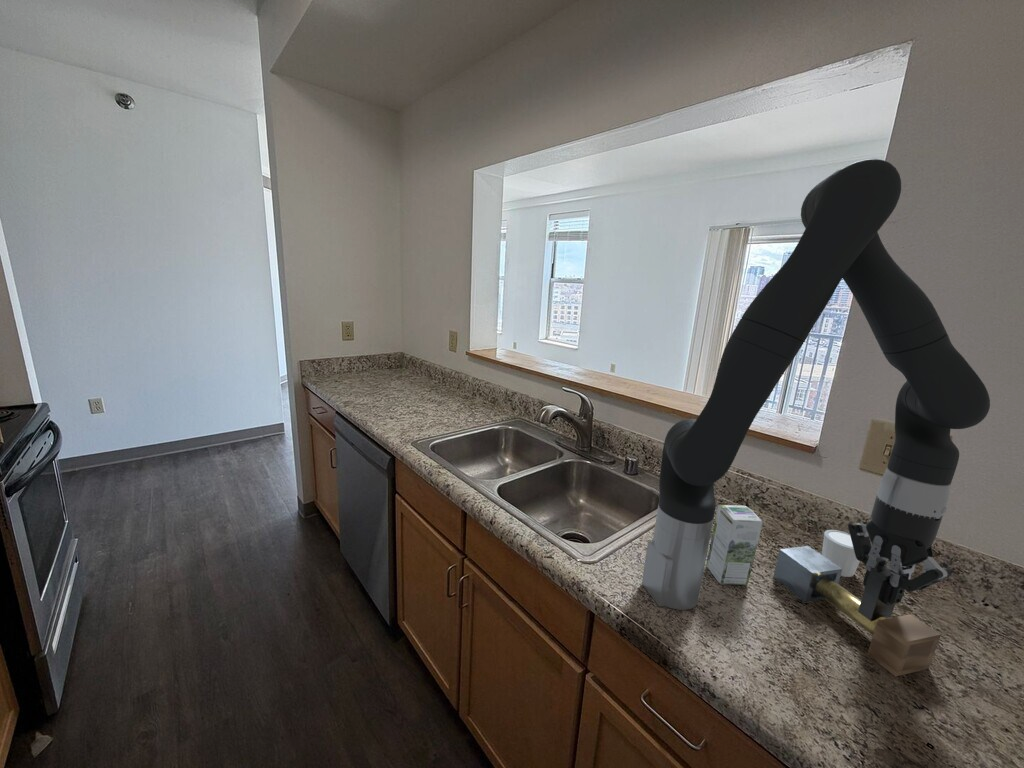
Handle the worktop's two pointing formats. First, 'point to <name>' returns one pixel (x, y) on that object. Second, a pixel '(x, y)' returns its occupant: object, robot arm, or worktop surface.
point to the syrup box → (733, 544)
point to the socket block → (903, 644)
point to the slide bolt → (854, 608)
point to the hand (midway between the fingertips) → (879, 596)
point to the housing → (804, 571)
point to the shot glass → (840, 551)
